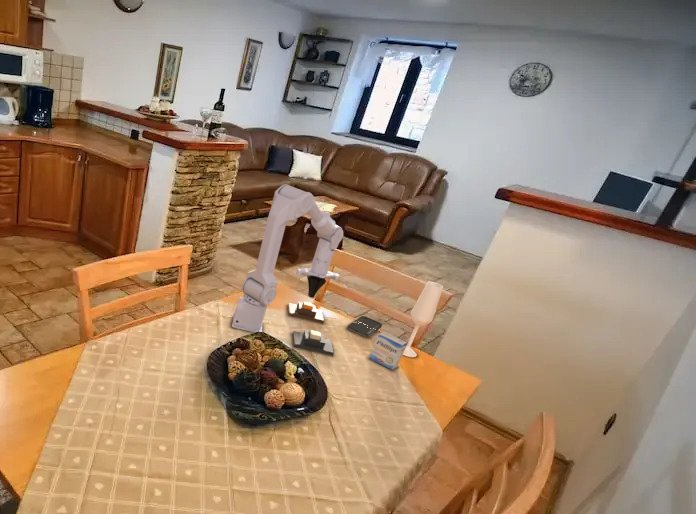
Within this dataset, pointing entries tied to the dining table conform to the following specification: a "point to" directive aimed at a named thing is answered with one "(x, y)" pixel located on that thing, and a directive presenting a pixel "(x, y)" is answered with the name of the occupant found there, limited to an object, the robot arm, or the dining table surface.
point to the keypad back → (305, 312)
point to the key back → (307, 305)
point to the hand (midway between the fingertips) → (310, 296)
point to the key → (315, 335)
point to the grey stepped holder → (312, 343)
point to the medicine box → (388, 350)
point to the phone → (364, 326)
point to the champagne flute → (424, 311)
